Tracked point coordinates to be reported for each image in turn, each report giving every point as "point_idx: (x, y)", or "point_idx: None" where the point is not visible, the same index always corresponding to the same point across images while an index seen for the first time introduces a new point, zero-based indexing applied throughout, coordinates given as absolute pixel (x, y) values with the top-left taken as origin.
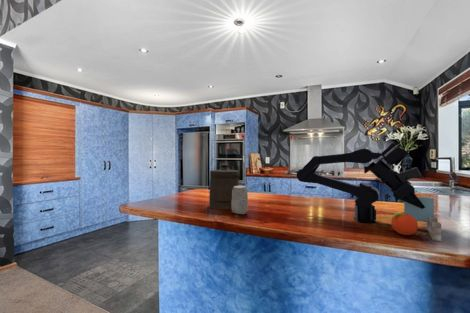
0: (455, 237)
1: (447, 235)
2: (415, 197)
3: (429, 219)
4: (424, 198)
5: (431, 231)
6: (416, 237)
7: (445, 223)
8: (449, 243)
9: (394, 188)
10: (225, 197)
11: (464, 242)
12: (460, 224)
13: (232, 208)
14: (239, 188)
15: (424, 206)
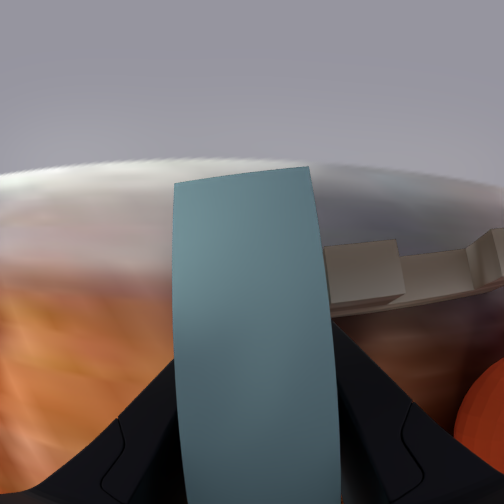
0: (351, 198)
1: (338, 229)
2: (441, 451)
3: (401, 295)
4: (325, 310)
5: (476, 290)
6: (494, 358)
7: (54, 233)
8: (481, 229)
9: None
10: None
11: (414, 175)
12: (49, 182)
13: None
14: None
15: (335, 325)
